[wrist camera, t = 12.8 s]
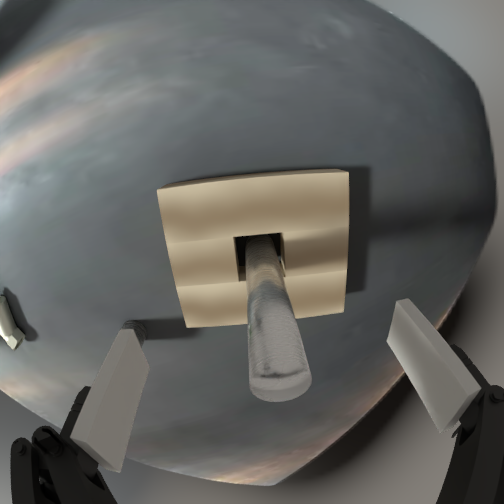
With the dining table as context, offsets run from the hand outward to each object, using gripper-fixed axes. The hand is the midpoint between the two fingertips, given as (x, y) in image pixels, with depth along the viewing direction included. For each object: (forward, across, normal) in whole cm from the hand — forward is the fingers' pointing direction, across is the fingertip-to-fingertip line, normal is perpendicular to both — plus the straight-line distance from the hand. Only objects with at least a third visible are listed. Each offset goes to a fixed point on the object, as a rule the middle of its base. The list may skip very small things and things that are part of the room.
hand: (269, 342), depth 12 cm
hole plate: (+14, 0, 0) cm, 14 cm away
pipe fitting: (+12, -35, -5) cm, 38 cm away
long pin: (+14, 0, 0) cm, 14 cm away
